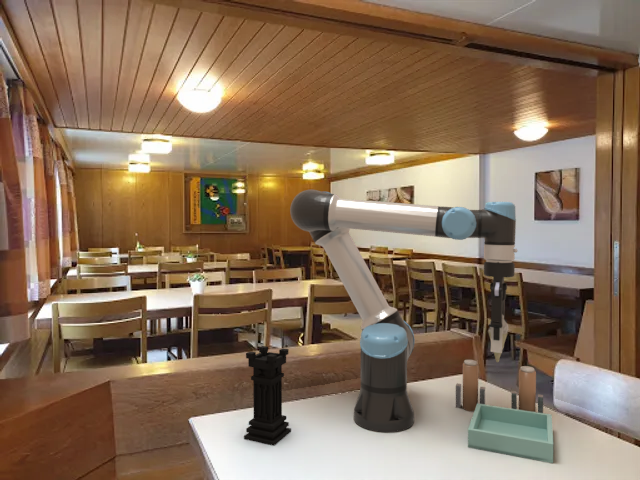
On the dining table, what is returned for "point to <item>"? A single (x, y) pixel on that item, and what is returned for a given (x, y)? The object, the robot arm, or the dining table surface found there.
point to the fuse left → (470, 385)
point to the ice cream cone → (505, 332)
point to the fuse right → (527, 389)
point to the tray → (512, 432)
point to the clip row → (482, 398)
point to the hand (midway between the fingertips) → (497, 349)
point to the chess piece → (267, 397)
